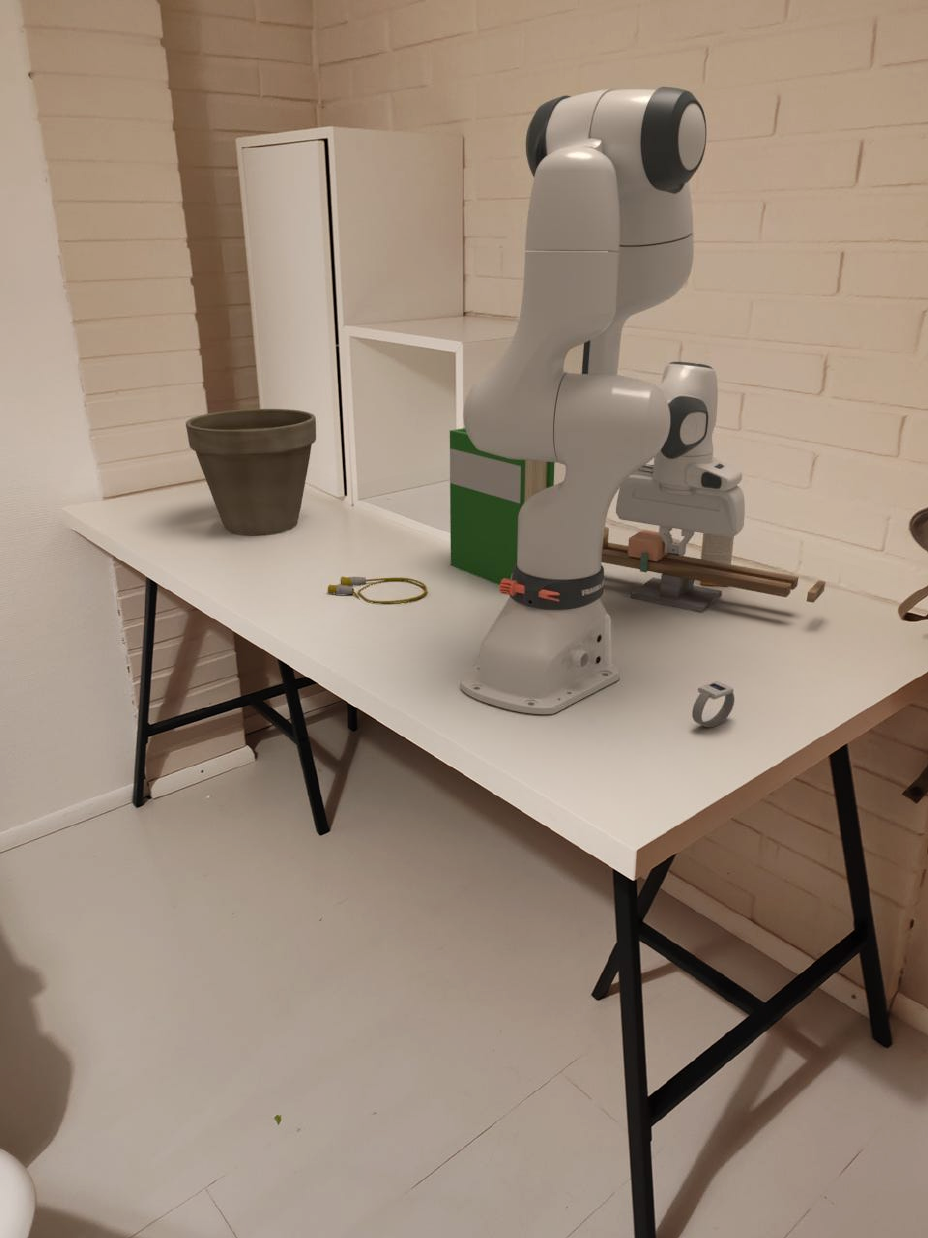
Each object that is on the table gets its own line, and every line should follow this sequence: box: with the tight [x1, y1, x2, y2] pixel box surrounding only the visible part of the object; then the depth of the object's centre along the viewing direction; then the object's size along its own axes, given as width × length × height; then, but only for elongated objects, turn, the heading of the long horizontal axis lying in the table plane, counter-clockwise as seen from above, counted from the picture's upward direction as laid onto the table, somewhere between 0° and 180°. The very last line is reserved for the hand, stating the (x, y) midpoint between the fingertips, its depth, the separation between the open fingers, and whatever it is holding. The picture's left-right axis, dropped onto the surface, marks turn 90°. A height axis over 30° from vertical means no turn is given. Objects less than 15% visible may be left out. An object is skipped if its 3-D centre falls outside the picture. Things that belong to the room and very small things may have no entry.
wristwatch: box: [691, 680, 735, 728], centre depth 115 cm, size 6×3×5 cm, turn 126°
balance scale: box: [601, 526, 826, 613], centre depth 154 cm, size 9×44×9 cm, turn 57°
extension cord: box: [327, 575, 429, 605], centre depth 159 cm, size 12×16×2 cm
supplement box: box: [700, 533, 735, 587], centre depth 162 cm, size 8×5×13 cm, turn 168°
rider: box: [627, 529, 673, 561], centre depth 156 cm, size 6×5×5 cm
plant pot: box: [185, 408, 317, 536], centre depth 190 cm, size 25×25×22 cm
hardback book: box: [449, 427, 556, 586], centre depth 162 cm, size 18×7×24 cm, turn 40°
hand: (674, 554), depth 154 cm, fingers closed
